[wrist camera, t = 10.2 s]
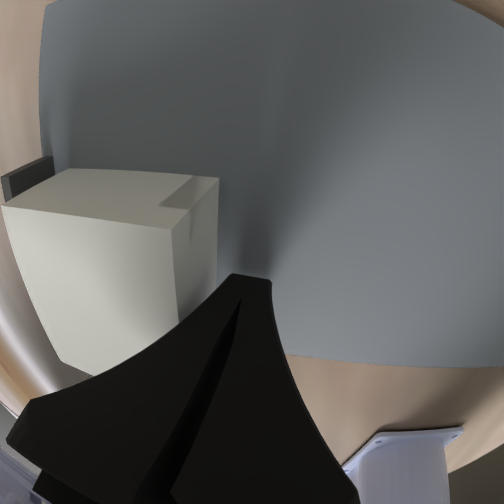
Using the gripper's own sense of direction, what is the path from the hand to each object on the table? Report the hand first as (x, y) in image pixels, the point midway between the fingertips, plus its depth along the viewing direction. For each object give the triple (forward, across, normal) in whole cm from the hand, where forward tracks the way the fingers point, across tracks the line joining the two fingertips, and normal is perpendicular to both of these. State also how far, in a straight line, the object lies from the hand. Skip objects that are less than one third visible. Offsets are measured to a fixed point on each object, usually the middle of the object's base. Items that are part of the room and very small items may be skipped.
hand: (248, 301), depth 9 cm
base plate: (+2, -5, -4) cm, 7 cm away
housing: (+1, +4, 0) cm, 4 cm away
